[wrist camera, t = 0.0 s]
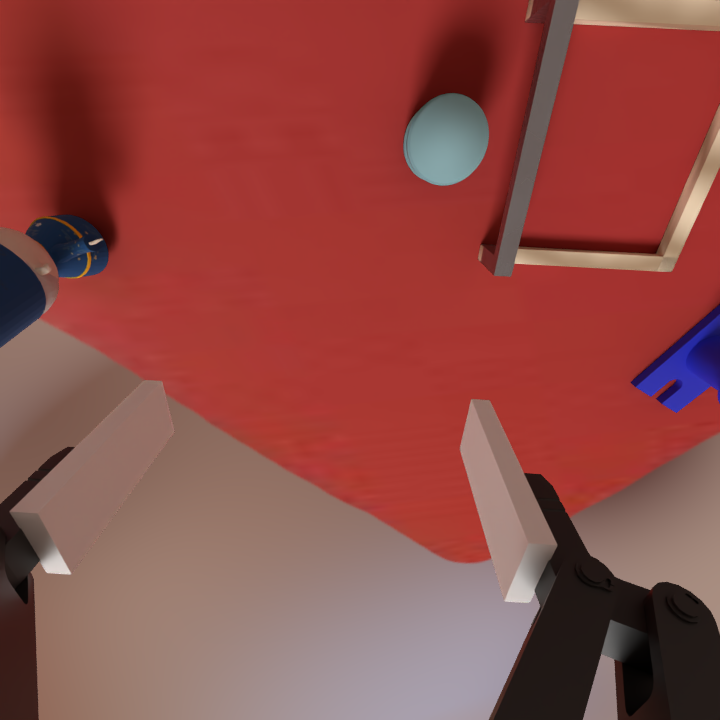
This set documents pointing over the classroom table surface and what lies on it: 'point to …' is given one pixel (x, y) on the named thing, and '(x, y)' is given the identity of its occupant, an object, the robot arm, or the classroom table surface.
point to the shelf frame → (712, 13)
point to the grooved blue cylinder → (446, 139)
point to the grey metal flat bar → (532, 129)
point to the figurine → (43, 266)
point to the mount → (686, 365)
